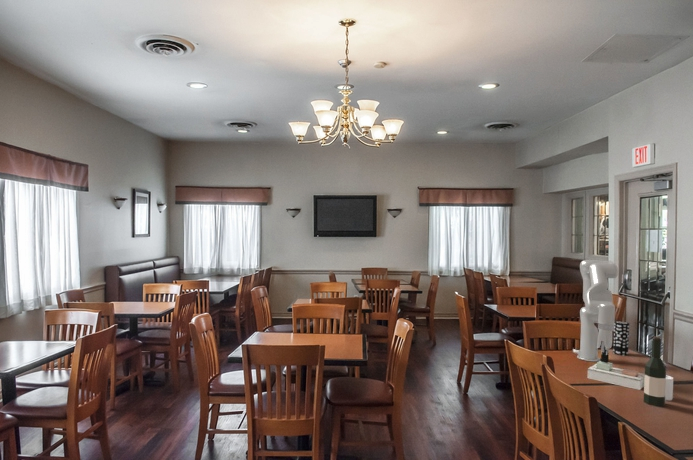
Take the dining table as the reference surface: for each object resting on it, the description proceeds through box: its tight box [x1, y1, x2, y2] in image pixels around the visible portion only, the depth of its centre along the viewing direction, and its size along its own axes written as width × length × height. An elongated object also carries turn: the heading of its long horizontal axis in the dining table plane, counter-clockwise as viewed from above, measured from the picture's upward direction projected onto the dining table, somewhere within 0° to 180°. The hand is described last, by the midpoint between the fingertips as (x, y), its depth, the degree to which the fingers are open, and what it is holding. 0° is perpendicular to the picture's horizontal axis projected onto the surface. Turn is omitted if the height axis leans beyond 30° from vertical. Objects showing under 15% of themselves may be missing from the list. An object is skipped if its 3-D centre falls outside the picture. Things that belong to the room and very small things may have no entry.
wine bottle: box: [643, 335, 667, 407], centre depth 218 cm, size 8×8×30 cm
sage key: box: [596, 360, 613, 371], centre depth 253 cm, size 6×6×3 cm
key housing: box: [586, 363, 645, 391], centre depth 249 cm, size 24×14×5 cm, turn 47°
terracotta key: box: [622, 368, 639, 377], centre depth 245 cm, size 6×6×3 cm
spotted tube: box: [612, 320, 630, 357], centre depth 306 cm, size 8×8×20 cm
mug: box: [665, 374, 674, 401], centre depth 228 cm, size 12×9×10 cm
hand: (604, 362), depth 253 cm, fingers closed
